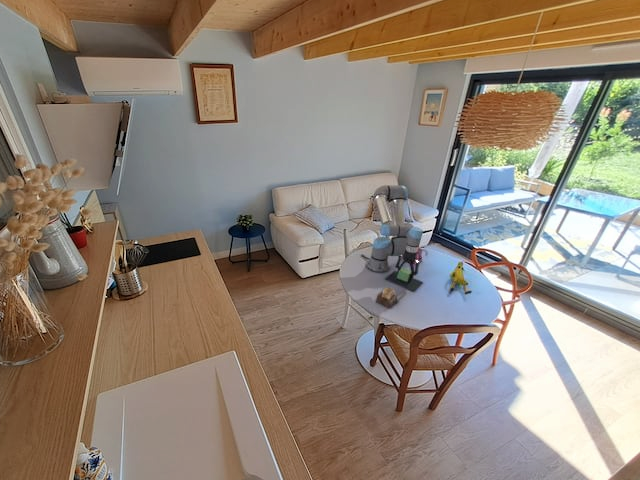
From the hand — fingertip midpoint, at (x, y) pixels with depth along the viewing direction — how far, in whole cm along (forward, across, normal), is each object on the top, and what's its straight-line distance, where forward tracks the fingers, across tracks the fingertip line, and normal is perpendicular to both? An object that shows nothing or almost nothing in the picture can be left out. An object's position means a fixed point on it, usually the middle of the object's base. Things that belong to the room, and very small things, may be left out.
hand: (403, 279), depth 196 cm
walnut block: (+1, +2, -29) cm, 29 cm away
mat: (+1, 0, 0) cm, 1 cm away
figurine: (+1, +28, +24) cm, 37 cm away
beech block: (-3, +2, -29) cm, 29 cm away
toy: (+2, -10, +32) cm, 33 cm away
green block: (-1, 0, 0) cm, 1 cm away
